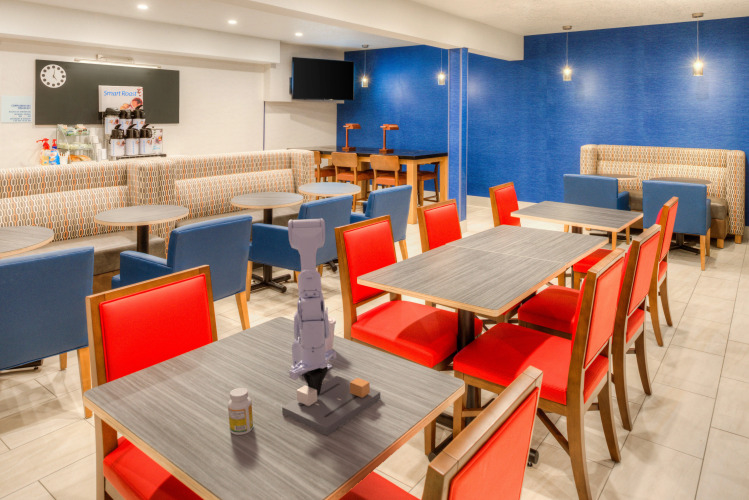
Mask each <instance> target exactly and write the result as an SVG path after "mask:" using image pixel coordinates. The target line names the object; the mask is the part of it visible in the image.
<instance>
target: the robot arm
mask: <svg viewBox="0 0 749 500" xmlns="http://www.w3.org/2000/svg"><path fill="white" fill-rule="evenodd" d="M287 227H288V228H287V231H288V232H287V233H288V241H289V245H290V247H291V249H294V250H297V251H298V254H299V255H300V257H299V258H300V270H301V271H300V273H299V274H298V275H297V289H298V293H297V294H298V300H297V301H296V306H297V307H296V309H297V311H295V313H294V315H293V333H294V340H293V342H292V345H291V352H292V353H291V355H292V365H291V366H290V368H291V369H289V370H288V371H289V378H290V379H292V380H295V381H296V380H298V379H299V377H300V376H302V377H303V379H304V380H305V381H306V384H307V386H308V387H311V388H313V389H315V390H317V396H318V395H319V394H320V391H321V386H322V384H323V383H324V379H325V376H326V374H327V373H328V370H329V369H331V368H333V364H330V363H328V362H329V361H331V360H336V359H337V351H336V350H333V349H332V350H329V351H326V352H325V338H326V339H327V338H328V337H329V321H328V317H329V313H327V312H326V306H325V299H324V293H323V292H322V291H323V290H322V279H321V278H322V276H321V273H320V272H319V271H317V264H316V260H317V252H318V249H320V248H323V247H324V244H325V242H326V241H325V240H326V223H325V219H323V218H322V217H321V218H310V219H309V218H307V219H292V218H291V219H289V220H288V221H287Z"/></svg>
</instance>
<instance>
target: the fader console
mask: <svg viewBox="0 0 749 500" xmlns="http://www.w3.org/2000/svg"><path fill="white" fill-rule="evenodd" d="M351 381H352V380H350V379H347V378H344V377H342V376H339V375H336V376H334V377H332V378H330V379H329V380H327V381H325V382H322V386H321V391H320V394H319V395H318V396H317V401H316V402H315V403H313V404H311V405H310V406H307V405H305V404H303V403H300V402H298V401H297V398H295V399H294V400H292V401H290V402H288V403H287V404H285V405H282V406H281V409H282V413H281V414H282V415H283V416H284V417H285V416H286V417H287V418H289V419H292V420H294V421H295V422H299V423H300V424H302V425H303V426H306V427H308V428H310V429H312V430H314V431H316V432H319V433H320V434H323V435H325V436H329V435H330V434H332V433H334V432H335V431H336V430H337V429H339V428H340V427H343V425H345V424H347V423H348V422H349V421H351V420H352V419H353V418H355V417H357V416H358V415H360V414H361V413H363V412H364V411H365V410H367V409H369V407H371V406H373V405H374V404H375V403H377V402H378V401H379V400H381V391H378V390H377V389H374V388H370V393H369V394H367V395H366V396H364V397H363V398H362V397H359V396H356V395H354V394H351V393H350V382H351Z"/></svg>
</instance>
